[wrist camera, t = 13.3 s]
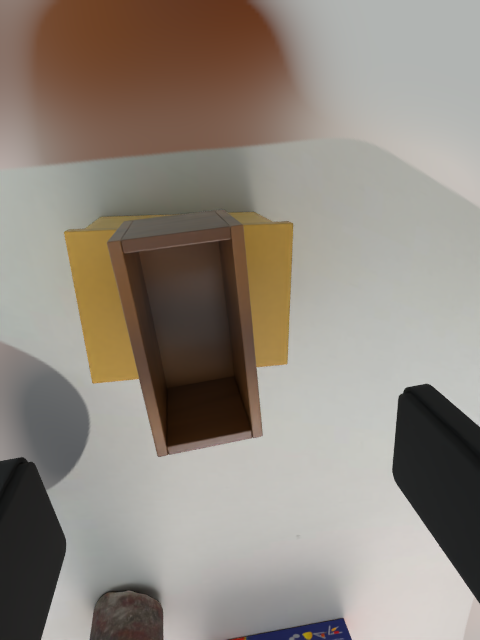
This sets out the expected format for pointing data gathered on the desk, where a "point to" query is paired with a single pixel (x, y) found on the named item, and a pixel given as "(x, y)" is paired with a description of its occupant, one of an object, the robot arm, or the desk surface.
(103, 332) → the box
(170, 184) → the desk surface
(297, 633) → the toy box
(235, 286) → the wooden cubby shelf
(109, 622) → the candle
